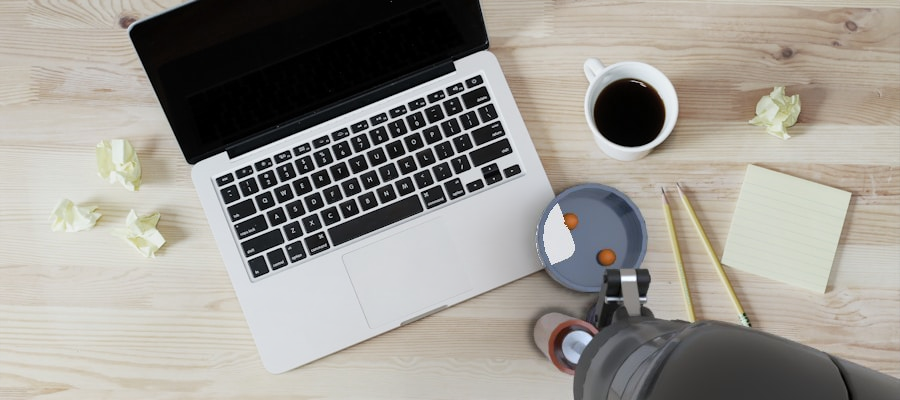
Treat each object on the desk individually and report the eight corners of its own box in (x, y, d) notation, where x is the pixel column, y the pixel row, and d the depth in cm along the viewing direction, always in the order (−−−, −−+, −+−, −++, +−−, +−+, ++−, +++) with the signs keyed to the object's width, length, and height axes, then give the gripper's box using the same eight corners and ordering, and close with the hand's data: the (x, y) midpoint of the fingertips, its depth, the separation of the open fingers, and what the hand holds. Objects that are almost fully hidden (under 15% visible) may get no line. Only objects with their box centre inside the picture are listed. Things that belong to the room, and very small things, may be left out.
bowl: (640, 291, 87) (649, 291, 82) (535, 292, 88) (538, 292, 83) (636, 188, 89) (645, 183, 84) (533, 190, 89) (536, 184, 84)
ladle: (594, 363, 66) (642, 395, 47) (561, 363, 67) (593, 395, 47) (593, 329, 67) (640, 347, 47) (560, 329, 67) (592, 347, 47)
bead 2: (614, 266, 87) (617, 265, 85) (597, 266, 87) (600, 265, 85) (614, 249, 87) (617, 248, 85) (596, 249, 87) (599, 248, 85)
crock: (576, 355, 87) (604, 375, 67) (533, 355, 87) (548, 375, 67) (575, 312, 87) (602, 319, 67) (533, 312, 87) (547, 319, 68)
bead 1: (577, 230, 88) (579, 229, 86) (560, 230, 88) (562, 229, 86) (576, 213, 88) (579, 212, 86) (560, 213, 88) (561, 212, 86)
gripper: (579, 254, 36) (548, 265, 53) (587, 554, 34) (552, 464, 51) (738, 253, 35) (654, 264, 52) (754, 556, 34) (662, 465, 51)
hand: (604, 363), depth 52 cm, fingers closed on ladle, 1 cm apart
